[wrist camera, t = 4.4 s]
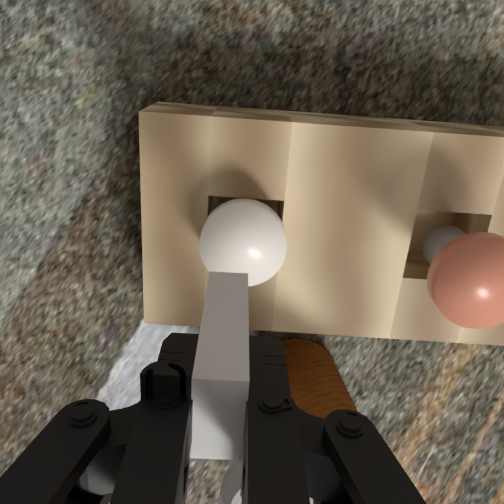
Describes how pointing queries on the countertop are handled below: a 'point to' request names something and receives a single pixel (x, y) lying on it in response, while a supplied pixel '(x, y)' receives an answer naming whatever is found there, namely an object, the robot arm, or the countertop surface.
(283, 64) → the countertop surface
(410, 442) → the countertop surface
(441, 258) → the pink round-capped knob part
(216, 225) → the white mushroom knob
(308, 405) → the disposable coffee cup
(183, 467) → the robot arm
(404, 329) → the block
